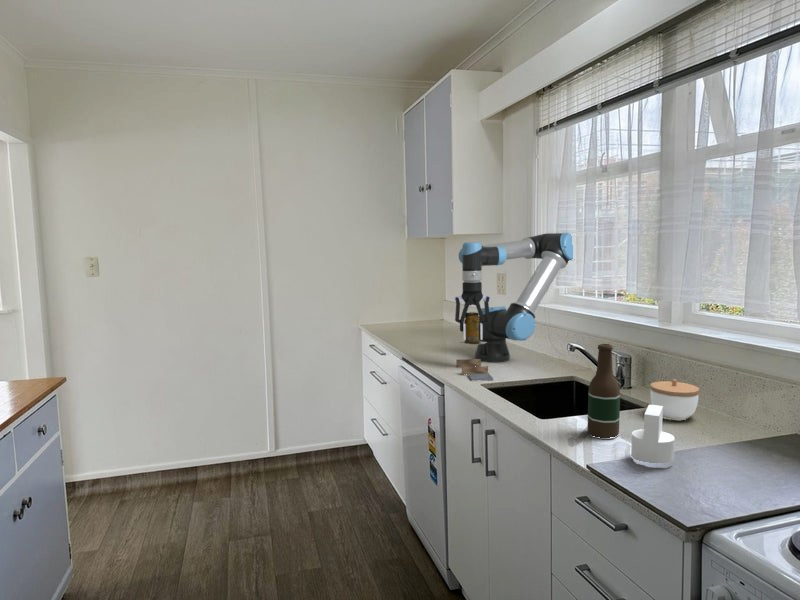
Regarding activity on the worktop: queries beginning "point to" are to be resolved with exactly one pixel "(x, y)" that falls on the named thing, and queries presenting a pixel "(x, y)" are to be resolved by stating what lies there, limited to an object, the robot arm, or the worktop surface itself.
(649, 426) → the base with upright slab
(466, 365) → the rack
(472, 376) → the coaster
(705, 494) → the worktop surface
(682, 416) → the lidded bowl
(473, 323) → the condiment
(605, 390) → the beer bottle
